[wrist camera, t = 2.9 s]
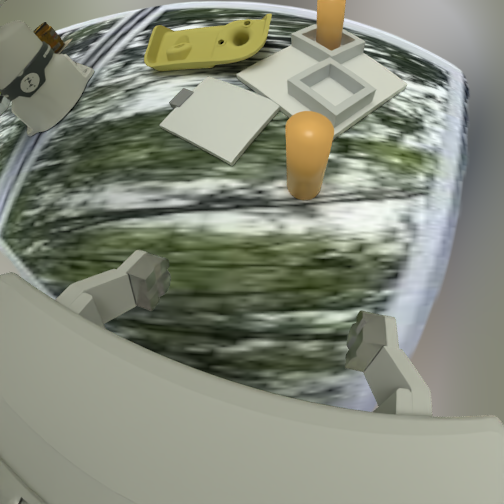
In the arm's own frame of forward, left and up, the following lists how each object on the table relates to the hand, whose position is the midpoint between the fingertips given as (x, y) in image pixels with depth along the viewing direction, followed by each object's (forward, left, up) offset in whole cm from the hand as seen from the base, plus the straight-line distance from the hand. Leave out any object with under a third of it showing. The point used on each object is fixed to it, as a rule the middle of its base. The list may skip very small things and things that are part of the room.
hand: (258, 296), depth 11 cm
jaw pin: (-7, +10, -16) cm, 20 cm away
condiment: (-89, -4, -16) cm, 91 cm away
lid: (-21, +9, -16) cm, 28 cm away
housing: (-17, +24, -16) cm, 33 cm away
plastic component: (-34, +16, -16) cm, 41 cm away
